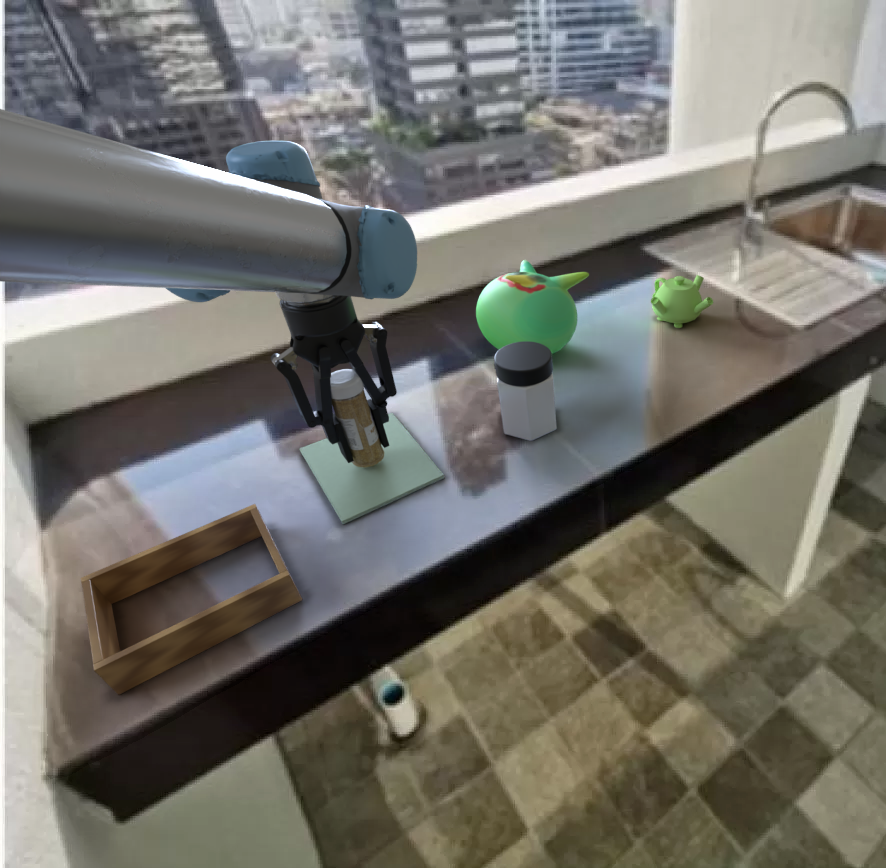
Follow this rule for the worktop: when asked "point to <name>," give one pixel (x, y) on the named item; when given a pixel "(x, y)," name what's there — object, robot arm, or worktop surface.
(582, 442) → the worktop surface
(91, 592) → the wooden tray
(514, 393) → the jar
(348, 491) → the mat
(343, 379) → the spice bottle
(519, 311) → the toy bird
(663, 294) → the teapot
